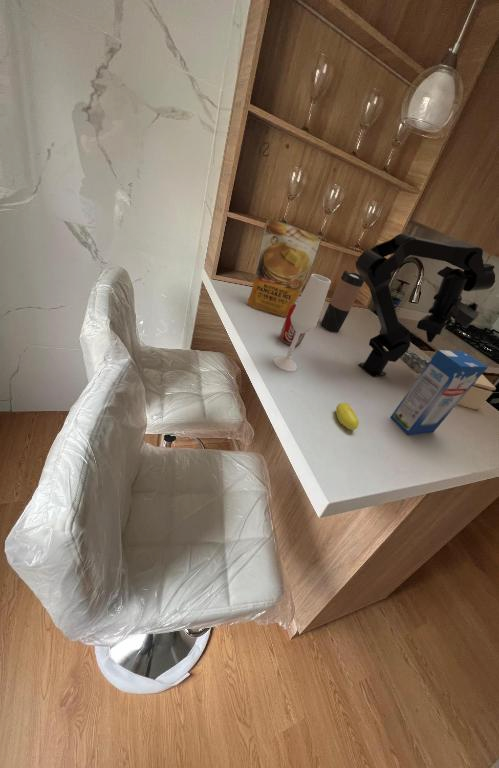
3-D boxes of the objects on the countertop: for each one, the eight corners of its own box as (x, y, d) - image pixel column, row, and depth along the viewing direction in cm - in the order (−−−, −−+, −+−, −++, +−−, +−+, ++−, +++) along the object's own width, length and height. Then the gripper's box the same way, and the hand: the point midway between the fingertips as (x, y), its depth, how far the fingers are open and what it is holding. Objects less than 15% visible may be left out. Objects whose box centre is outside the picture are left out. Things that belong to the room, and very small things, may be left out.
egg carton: (431, 375, 113) (438, 365, 111) (415, 373, 110) (422, 363, 108) (412, 358, 121) (418, 348, 119) (396, 355, 118) (402, 346, 116)
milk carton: (407, 435, 78) (461, 366, 67) (389, 417, 82) (437, 349, 71) (433, 432, 82) (488, 367, 71) (415, 415, 87) (464, 351, 76)
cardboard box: (447, 401, 99) (462, 383, 95) (431, 379, 109) (444, 362, 105) (476, 410, 100) (492, 392, 96) (458, 387, 110) (472, 371, 106)
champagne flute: (301, 367, 89) (340, 283, 76) (287, 373, 85) (325, 284, 71) (283, 355, 92) (317, 271, 79) (268, 359, 88) (302, 272, 75)
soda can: (275, 340, 99) (289, 303, 92) (282, 333, 104) (296, 297, 98) (296, 350, 97) (312, 313, 91) (302, 342, 103) (317, 307, 97)
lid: (463, 382, 95) (465, 380, 95) (445, 361, 105) (446, 359, 105) (494, 390, 96) (496, 388, 96) (473, 369, 106) (475, 367, 105)
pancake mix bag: (243, 298, 119) (267, 216, 104) (292, 314, 121) (323, 235, 106) (241, 305, 113) (266, 219, 98) (293, 321, 115) (326, 239, 100)
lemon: (345, 411, 78) (352, 399, 76) (357, 435, 72) (366, 423, 70) (329, 409, 77) (336, 396, 75) (340, 433, 71) (348, 420, 69)
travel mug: (335, 335, 117) (362, 281, 106) (316, 325, 119) (341, 271, 108) (342, 330, 122) (367, 278, 112) (324, 321, 125) (347, 269, 114)
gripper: (473, 312, 80) (448, 365, 89) (490, 290, 91) (467, 339, 100) (426, 299, 86) (407, 350, 95) (448, 279, 97) (429, 327, 106)
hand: (429, 341), depth 99 cm, fingers closed
